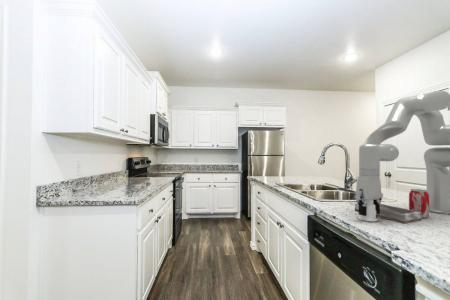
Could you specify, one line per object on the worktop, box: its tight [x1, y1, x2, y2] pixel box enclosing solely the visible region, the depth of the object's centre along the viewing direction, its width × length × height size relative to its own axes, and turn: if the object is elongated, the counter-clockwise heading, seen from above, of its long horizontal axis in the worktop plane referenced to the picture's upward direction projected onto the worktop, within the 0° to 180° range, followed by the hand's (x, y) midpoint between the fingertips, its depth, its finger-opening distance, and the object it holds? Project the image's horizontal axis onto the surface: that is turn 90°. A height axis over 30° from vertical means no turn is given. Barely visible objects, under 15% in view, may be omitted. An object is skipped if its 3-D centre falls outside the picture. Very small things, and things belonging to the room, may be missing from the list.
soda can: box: [408, 188, 430, 219], centre depth 104 cm, size 7×7×12 cm
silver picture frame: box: [354, 202, 423, 224], centre depth 105 cm, size 12×22×4 cm, turn 23°
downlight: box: [358, 200, 378, 223], centre depth 99 cm, size 8×7×10 cm
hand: (369, 213), depth 98 cm, fingers open, 7 cm apart
